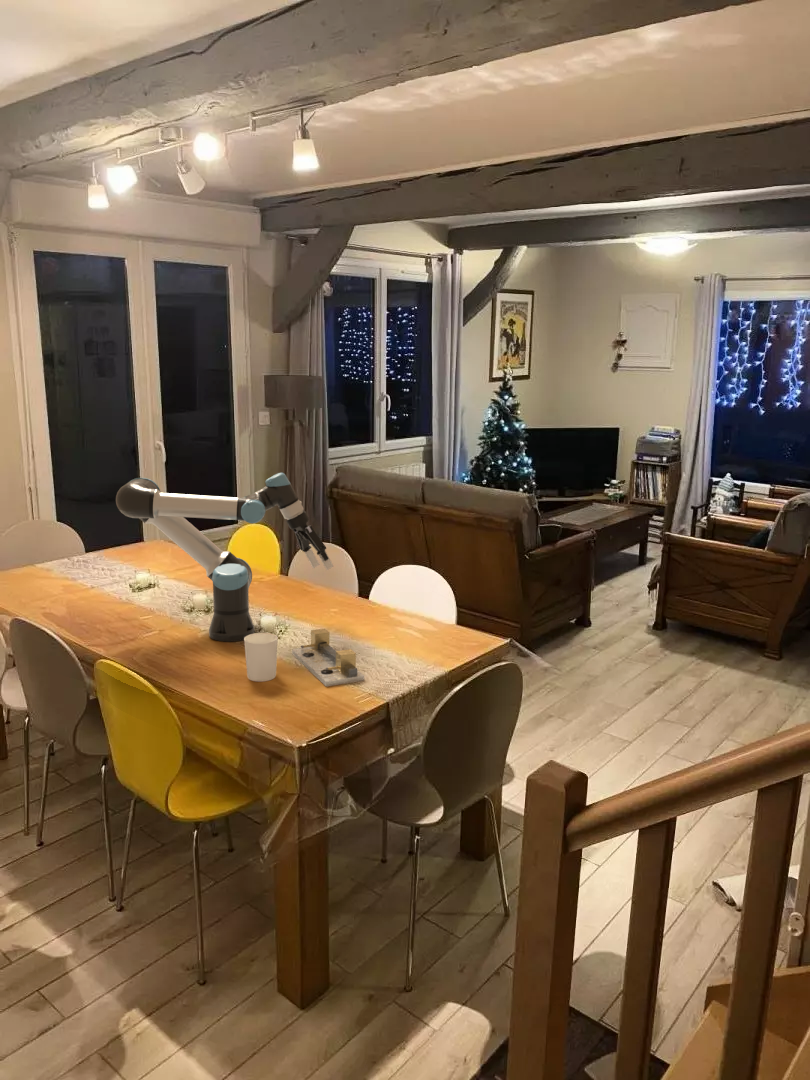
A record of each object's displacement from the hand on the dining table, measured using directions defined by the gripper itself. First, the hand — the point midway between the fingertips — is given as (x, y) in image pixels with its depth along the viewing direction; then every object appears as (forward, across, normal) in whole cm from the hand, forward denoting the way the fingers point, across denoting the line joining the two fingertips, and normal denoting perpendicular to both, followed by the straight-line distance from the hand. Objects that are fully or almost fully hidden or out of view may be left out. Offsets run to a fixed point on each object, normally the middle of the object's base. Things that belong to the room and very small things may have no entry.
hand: (323, 567), depth 292 cm
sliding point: (+15, -26, +23) cm, 37 cm away
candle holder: (+9, -38, +44) cm, 59 cm away
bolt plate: (+18, -39, +26) cm, 50 cm away
